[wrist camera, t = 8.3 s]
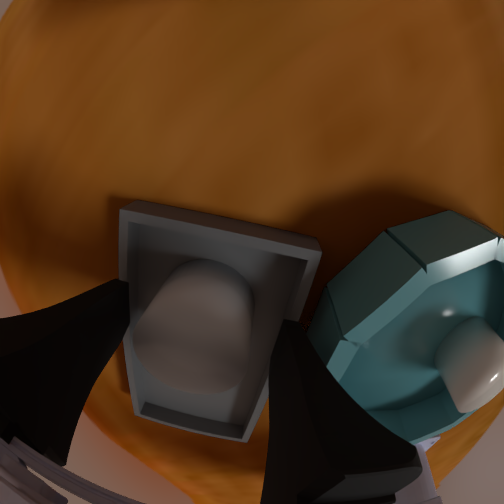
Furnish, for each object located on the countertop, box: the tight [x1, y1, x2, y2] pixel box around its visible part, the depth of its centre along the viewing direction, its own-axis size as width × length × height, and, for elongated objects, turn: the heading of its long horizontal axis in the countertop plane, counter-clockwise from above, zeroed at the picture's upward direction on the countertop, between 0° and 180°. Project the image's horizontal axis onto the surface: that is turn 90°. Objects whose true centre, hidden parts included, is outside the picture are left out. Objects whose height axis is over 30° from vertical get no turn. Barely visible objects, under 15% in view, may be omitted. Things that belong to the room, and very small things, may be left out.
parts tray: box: [118, 200, 322, 443], centre depth 13 cm, size 13×7×2 cm, turn 168°
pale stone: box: [434, 316, 504, 413], centre depth 10 cm, size 4×4×4 cm
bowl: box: [306, 210, 504, 445], centre depth 11 cm, size 13×13×4 cm
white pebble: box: [132, 259, 255, 395], centre depth 10 cm, size 4×4×4 cm
